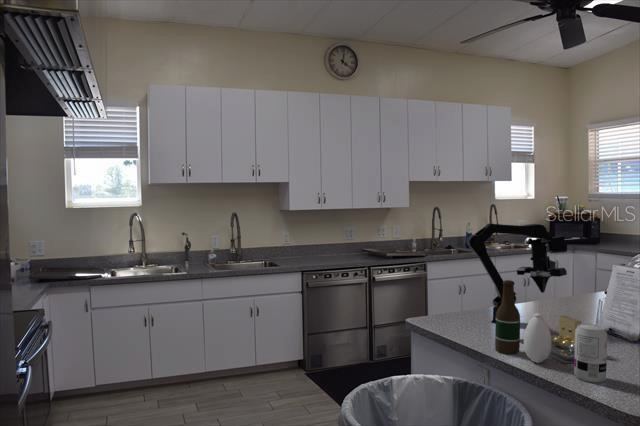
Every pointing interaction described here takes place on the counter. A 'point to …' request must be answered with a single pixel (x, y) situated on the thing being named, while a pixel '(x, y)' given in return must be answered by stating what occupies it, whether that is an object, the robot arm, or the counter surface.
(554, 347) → the rubber mat
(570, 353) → the gunmetal leaf
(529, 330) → the sauce bottle
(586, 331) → the supplement can
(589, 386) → the counter surface
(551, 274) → the robot arm
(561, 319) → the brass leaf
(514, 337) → the beer bottle
